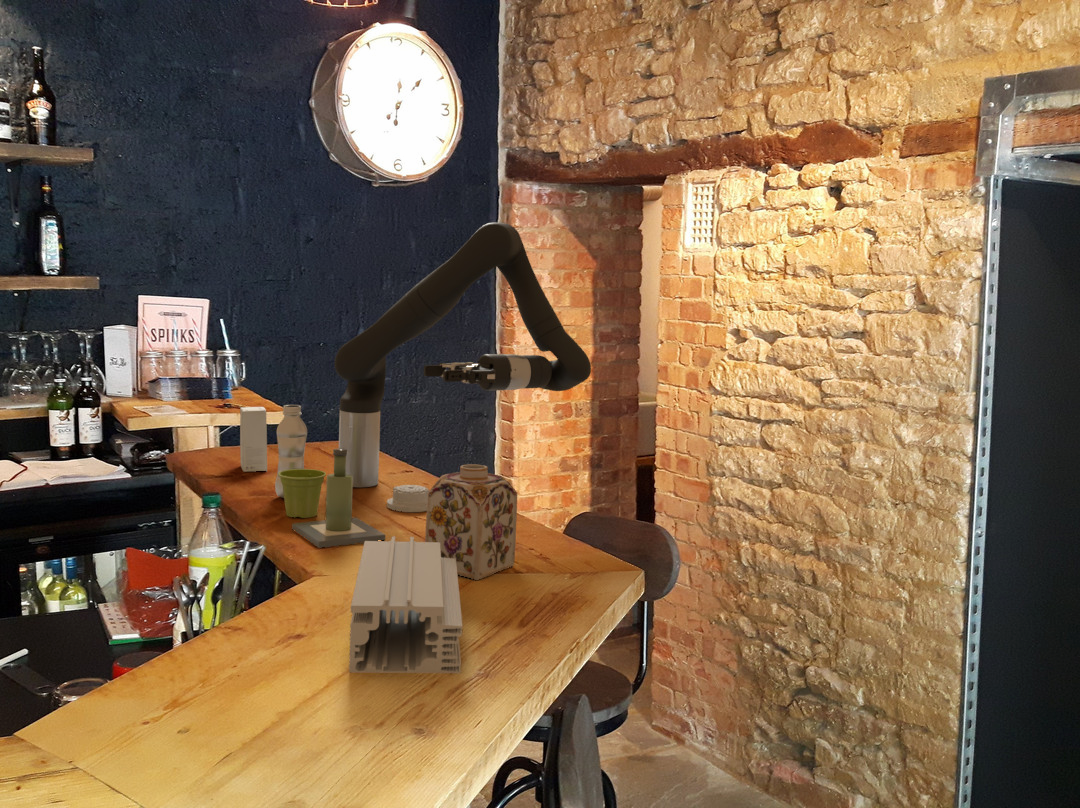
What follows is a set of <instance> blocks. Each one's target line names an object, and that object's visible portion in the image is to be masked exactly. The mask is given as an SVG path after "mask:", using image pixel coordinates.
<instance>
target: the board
mask: <svg viewBox="0 0 1080 808" xmlns="http://www.w3.org/2000/svg"><path fill="white" fill-rule="evenodd" d="M291 523H292V522H291ZM292 529H293V530H292ZM291 530H292V531H294V530H295V531H296V532H297V533H296V532H295V531H294V532H295V533H296V534H298V533H299V534H300V535H299V534H298V535H299V536H301V535H302V536H303V537H302V536H301V537H302V538H304V537H305V538H306V539H307V540H306V539H305V538H304V539H305V540H306V541H308V540H309V541H310V543H311V544H312V543H313V544H312V545H314V546H315V547H316V546H317V548H318V549H323V548H322V547H325V548H331V546H334V547H340V546H339V545H343V546H349V545H348V544H352V545H356V544H355V543H361V544H364V543H363V542H365V541H378V540H385V541H386V534H385V533H383V532H382V531H380V530H378V529H377V528H375V527H373V526H372V525H369V524H368V523H366V522H364V521H363V520H361V519H359V518H358V517H356V516H354V517H353V516H352V524H351V529H350V530H345V531H332V530H327V529H326V519H323V520H314V521H303V522H294V523H292V524H291ZM309 541H308V542H309Z"/></svg>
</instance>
